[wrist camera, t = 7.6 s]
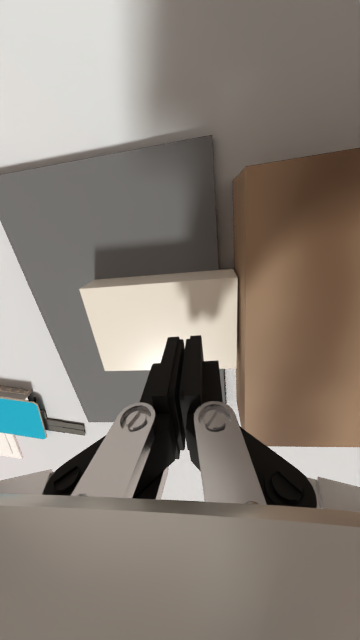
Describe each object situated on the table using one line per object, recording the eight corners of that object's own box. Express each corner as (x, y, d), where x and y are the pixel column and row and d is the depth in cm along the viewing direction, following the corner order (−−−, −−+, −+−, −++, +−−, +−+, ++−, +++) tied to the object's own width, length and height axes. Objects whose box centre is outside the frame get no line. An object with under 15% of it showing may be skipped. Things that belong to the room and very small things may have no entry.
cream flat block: (233, 268, 13) (237, 277, 11) (232, 350, 16) (236, 368, 14) (94, 279, 14) (79, 289, 13) (115, 354, 17) (104, 371, 15)
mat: (211, 137, 11) (212, 134, 11) (225, 417, 19) (225, 421, 19) (-12, 179, 13) (-19, 178, 12) (90, 418, 21) (88, 422, 21)
